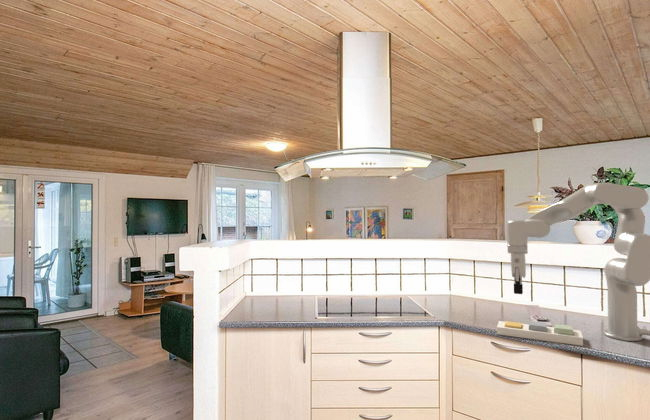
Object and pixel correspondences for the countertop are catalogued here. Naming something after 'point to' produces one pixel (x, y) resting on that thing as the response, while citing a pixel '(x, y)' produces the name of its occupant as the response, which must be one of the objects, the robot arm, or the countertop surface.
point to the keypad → (540, 334)
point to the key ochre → (513, 325)
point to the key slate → (537, 326)
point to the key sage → (563, 329)
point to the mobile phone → (537, 315)
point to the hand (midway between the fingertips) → (518, 293)
